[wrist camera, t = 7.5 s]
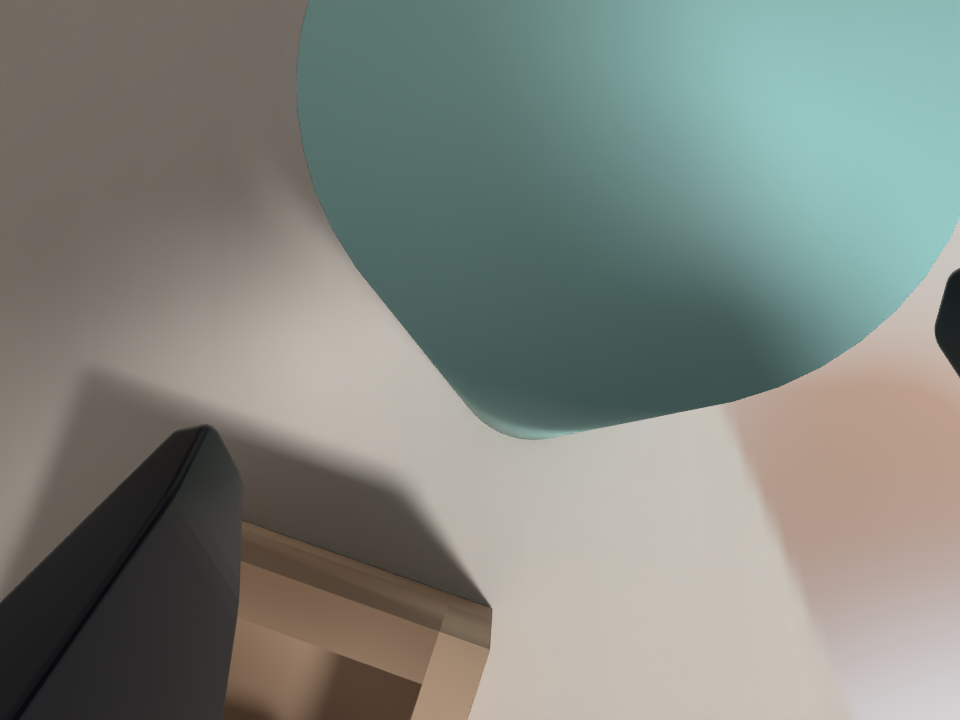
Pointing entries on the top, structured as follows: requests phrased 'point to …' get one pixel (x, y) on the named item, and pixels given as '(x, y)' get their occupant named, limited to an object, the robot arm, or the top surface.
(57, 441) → the top surface
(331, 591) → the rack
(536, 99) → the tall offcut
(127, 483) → the robot arm
